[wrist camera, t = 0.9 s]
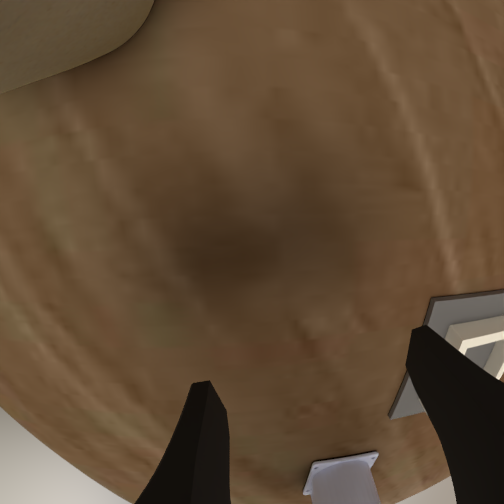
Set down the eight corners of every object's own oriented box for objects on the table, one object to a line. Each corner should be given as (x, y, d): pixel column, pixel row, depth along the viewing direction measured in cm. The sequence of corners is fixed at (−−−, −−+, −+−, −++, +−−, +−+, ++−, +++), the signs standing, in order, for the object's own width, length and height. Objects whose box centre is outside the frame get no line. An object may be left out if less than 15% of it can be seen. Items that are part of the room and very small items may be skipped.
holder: (484, 388, 28) (495, 403, 25) (388, 415, 27) (397, 435, 24) (530, 285, 22) (547, 298, 20) (431, 297, 22) (449, 317, 19)
